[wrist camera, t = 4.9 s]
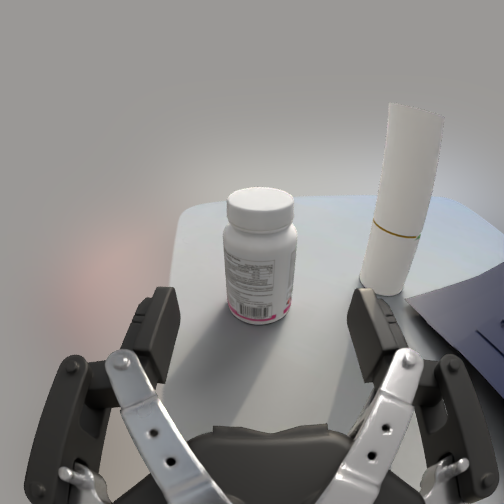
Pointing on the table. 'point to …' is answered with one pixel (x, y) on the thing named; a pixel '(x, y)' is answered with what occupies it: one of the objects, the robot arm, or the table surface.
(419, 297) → the papers
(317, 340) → the table surface
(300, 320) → the table surface
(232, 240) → the pill bottle
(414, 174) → the tube
